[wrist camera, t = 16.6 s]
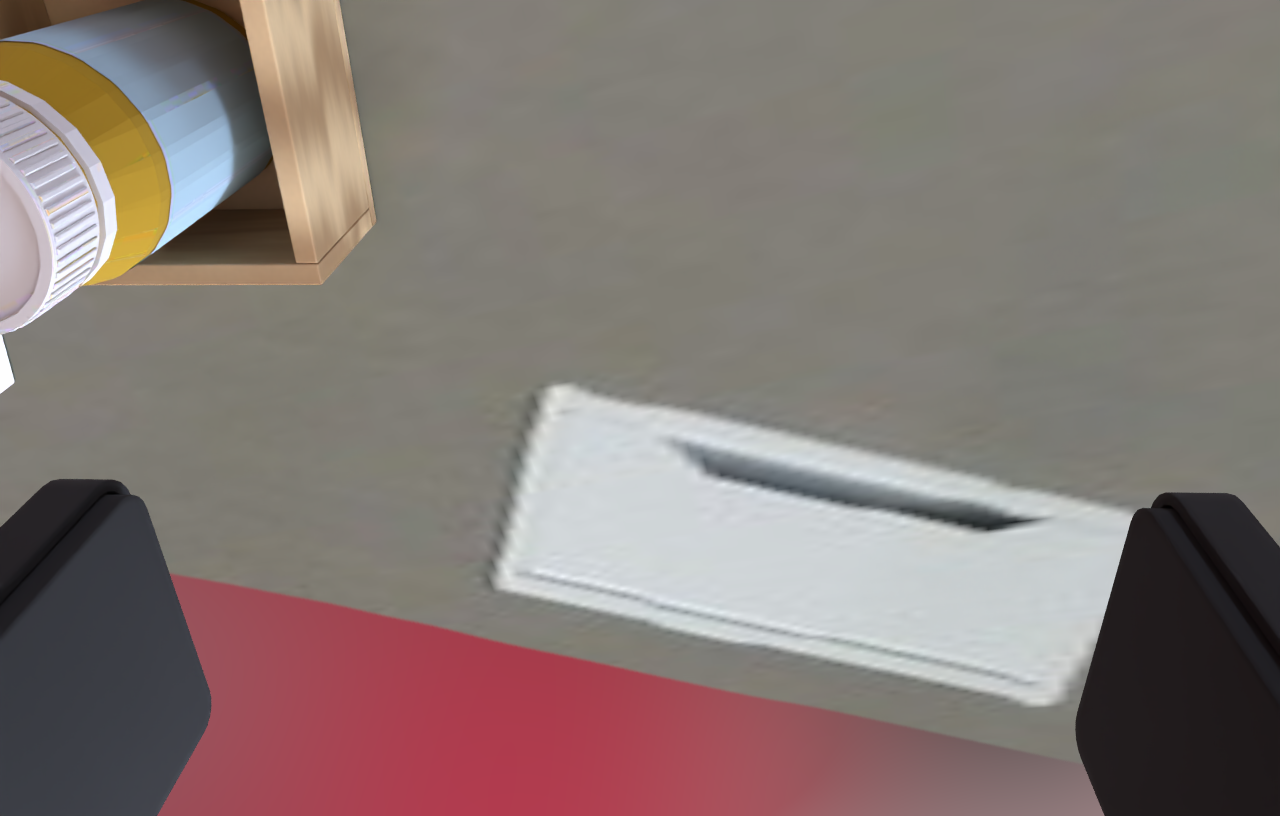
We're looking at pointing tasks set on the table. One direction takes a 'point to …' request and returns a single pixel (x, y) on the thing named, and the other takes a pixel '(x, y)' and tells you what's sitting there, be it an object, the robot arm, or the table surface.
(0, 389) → the framed art
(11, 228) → the bottle
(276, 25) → the holder
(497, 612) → the table surface
